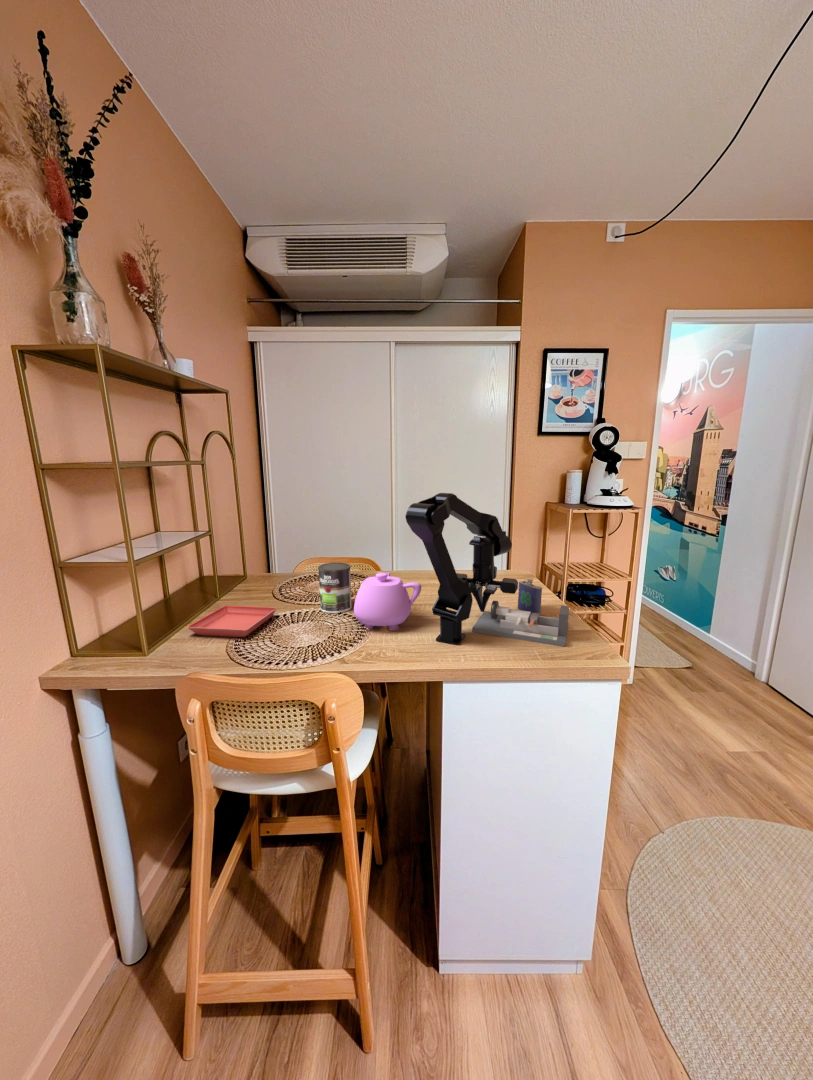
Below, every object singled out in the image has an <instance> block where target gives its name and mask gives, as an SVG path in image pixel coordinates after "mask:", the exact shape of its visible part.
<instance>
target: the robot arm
mask: <svg viewBox="0 0 813 1080" xmlns="http://www.w3.org/2000/svg"><path fill="white" fill-rule="evenodd" d="M404 516H405V521H406V523H407V525H408V527H409V528H410V530H411V532H412V533H413V534H415V535H416V537H418V538H419V539H420V540H421V541H422V543H423V546H424V547H425V550H426V553H427V556H428V558H429V561H430V563H431V565H432V568H433V570H434V573H435V576H436V578H437V581H438V583H439V587H438V590H437V595H438V597H437V599H436V601H435V602H434V603H433V606H432V608H431V610H432V614H433V615H434V616H437V617H440V618H439V625H440V626H439V630H440V631H439V634H438V636H437V637H435V641H436V642H440V643H445V644H453V645H460V644H461V642H462V641H463V640H464V639H465V637H466V635H467V634H466V633H465V632H463V622H464V621H466V620H467V619H470V614H471V611H472V605H473V597H474V599H475V601H476V604H477V606H478V609H479V610H480V612H481V613H483V612H484V611H486V607H487V605H488V602H489V600H490V596H492V595H494V594H495V593H496V592H497V590H498V588H499V589H500V591H501V593H503V594H516V592H517V591H518V590H519V581H518V580H517V579H516V578H512V577H511V578H510V577H503V578H502V579H501V581H500V580H495V579H496V578H497V575H498V572H497V571H498V567H497V566H495V557H498V556H500V555H504V554H506V553H509V552H510V551H511V549H512V547H513V546H512V545H513V543H512V541H511V539H510V537H509V536H508V535H507V531H505V530H503V529H502V527H501V524H500V522H499V518H498V517H497V516H495V515H494V514H493V515H492V514H489V513H485V512H481V511H479V510H477V509H475V508H474V507H472V506H471V505H470V504H468V503H467V502H465V501H463V500H462V499H460V498H459V497H458V496H457V494H455V493H451V492H450V493H449V492H439V493H437V494H435V495H434V496H432V497H428V498H425V499H423V500H420V501H419V502H415V503H411V504H410V505H409V507H408V509H406V514H405V515H404ZM450 516H453V518H455V519H457V520H458V521H461V522H462V523H464V524H465V525H466V529H468V531H469V532H470V533H471V534H473V535H476V536H473V538H472V539H470V541H469V542H468V543H469V545H471V546H473V550H472V551H473V554H472V555H473V558H472V559H473V561H472V562H473V563H472V573H473V574H472V577H468V575H467V573H457V572H456V567H455V566H454V564H453V561H452V558H451V555H450V552H449V550H448V548H447V544H446V541H445V539H444V537H443V531H444V527H445V521H446V520H447V519H449V518H450ZM483 587H484V588H485V589H484V588H483ZM483 589H484V590H483Z"/></svg>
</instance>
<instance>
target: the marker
mask: <svg viewBox="0 0 813 1080" xmlns="http://www.w3.org/2000/svg"><path fill="white" fill-rule="evenodd" d="M538 623H539V613H532V615H531V617H530V622H529V624H530V625H529V627H531V628H532V627H533V624H536V625H538Z"/></svg>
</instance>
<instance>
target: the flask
mask: <svg viewBox="0 0 813 1080" xmlns="http://www.w3.org/2000/svg"><path fill="white" fill-rule="evenodd" d="M533 582H534V579H532V578H526V580H519V581H518V597H517V598H518V599H517V610H521V611H529V612H531V615H532V613H539V616H542V595H543V593H542V592H543V586H542V587H541V586H539V585H535V584H533Z"/></svg>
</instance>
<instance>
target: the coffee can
mask: <svg viewBox="0 0 813 1080" xmlns="http://www.w3.org/2000/svg"><path fill="white" fill-rule="evenodd" d="M351 567H352V566H351V565H350V564H349V563H346V562H327V563H323V564H320V565H318V567H317V570H318V584H319V585H318V588H319V601H320V604H319V605H320V607H319V610H320V612H322V613H326V614H340V612H341V613H345V612H348V611H350V610H351V609H352V584H351V583H352V582H351V581H352V579H351Z"/></svg>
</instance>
